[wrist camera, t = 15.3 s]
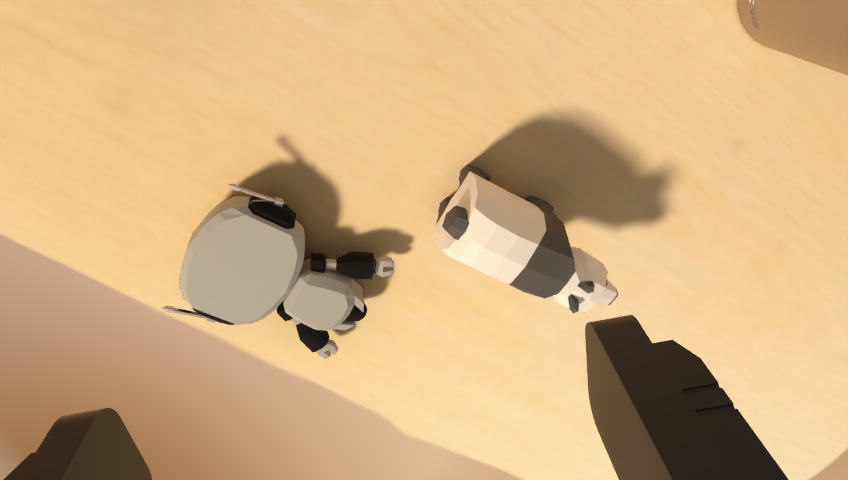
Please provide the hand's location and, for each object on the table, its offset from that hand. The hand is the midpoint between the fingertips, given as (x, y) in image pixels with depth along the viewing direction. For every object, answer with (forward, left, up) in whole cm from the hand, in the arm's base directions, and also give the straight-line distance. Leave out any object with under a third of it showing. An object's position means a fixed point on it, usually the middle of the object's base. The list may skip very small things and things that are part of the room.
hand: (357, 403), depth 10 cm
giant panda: (-8, +16, -36) cm, 41 cm away
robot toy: (+11, +17, -36) cm, 41 cm away
